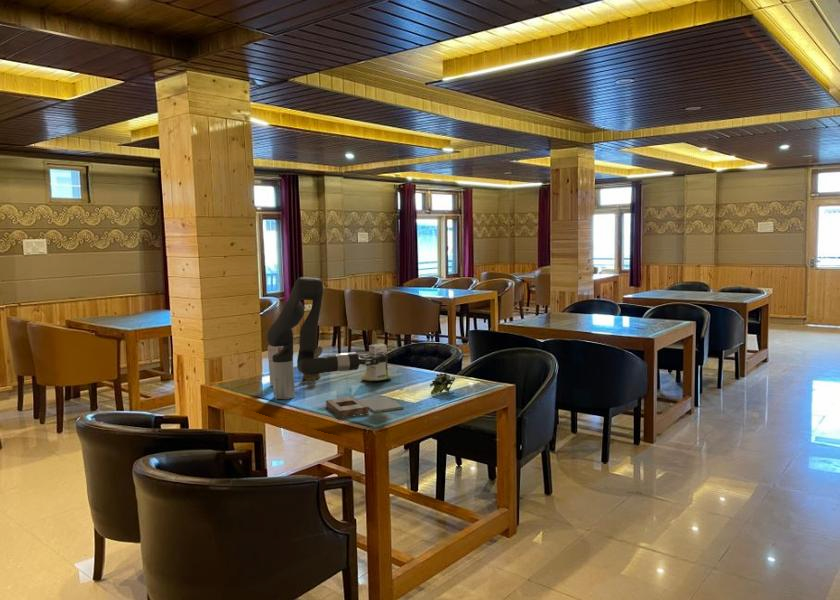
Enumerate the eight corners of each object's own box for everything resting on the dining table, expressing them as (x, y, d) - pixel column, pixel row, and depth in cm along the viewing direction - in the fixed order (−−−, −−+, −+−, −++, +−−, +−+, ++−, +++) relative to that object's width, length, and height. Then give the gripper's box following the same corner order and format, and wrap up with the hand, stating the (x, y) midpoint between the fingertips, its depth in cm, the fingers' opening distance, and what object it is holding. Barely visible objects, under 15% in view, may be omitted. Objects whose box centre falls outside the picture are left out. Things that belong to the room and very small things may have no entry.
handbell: (372, 384, 313) (370, 334, 311) (355, 380, 325) (352, 331, 322) (397, 379, 323) (395, 330, 321) (379, 375, 335) (377, 328, 332)
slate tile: (374, 413, 262) (374, 410, 262) (358, 402, 280) (358, 400, 280) (403, 408, 267) (403, 406, 267) (385, 398, 286) (385, 396, 285)
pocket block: (340, 418, 256) (340, 410, 256) (326, 407, 274) (326, 400, 274) (368, 413, 261) (368, 406, 261) (353, 403, 279) (352, 396, 279)
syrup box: (376, 380, 269) (375, 346, 267) (369, 377, 274) (368, 344, 272) (388, 378, 272) (387, 344, 270) (381, 376, 277) (380, 343, 275)
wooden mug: (314, 382, 323) (312, 347, 321) (299, 379, 333) (297, 345, 331) (328, 379, 329) (326, 345, 327) (313, 376, 339) (312, 342, 337)
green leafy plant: (441, 403, 295) (450, 380, 299) (454, 403, 286) (463, 379, 290) (422, 392, 290) (432, 369, 295) (435, 392, 281) (445, 368, 285)
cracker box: (278, 380, 330) (276, 341, 328) (289, 380, 329) (287, 340, 327) (269, 387, 316) (266, 345, 314) (281, 387, 316) (278, 345, 314)
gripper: (351, 355, 259) (389, 351, 266) (340, 350, 272) (377, 346, 279) (351, 373, 260) (390, 369, 267) (341, 367, 273) (377, 363, 280)
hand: (383, 357), depth 273 cm, fingers closed on syrup box, 6 cm apart
